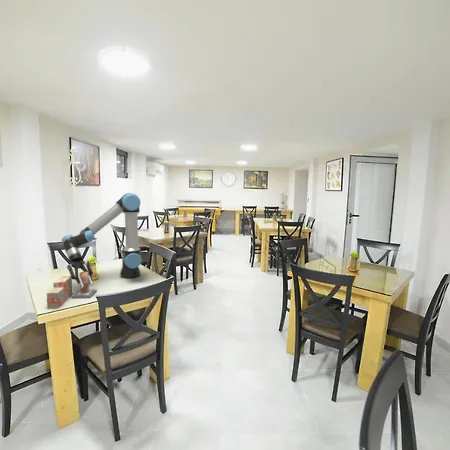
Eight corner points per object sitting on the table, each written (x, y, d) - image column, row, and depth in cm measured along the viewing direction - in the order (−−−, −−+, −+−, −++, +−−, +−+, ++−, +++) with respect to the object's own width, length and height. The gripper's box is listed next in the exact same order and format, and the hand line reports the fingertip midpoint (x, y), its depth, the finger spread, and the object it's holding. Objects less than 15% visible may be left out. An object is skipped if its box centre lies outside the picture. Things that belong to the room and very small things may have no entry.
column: (90, 289, 178) (89, 271, 176) (87, 292, 173) (86, 273, 171) (82, 289, 177) (81, 271, 176) (78, 292, 172) (78, 274, 171)
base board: (96, 291, 181) (96, 289, 181) (90, 298, 171) (90, 295, 170) (79, 291, 180) (79, 289, 180) (71, 298, 169) (71, 295, 169)
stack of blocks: (59, 308, 156) (58, 287, 154) (47, 308, 155) (45, 287, 153) (72, 294, 177) (71, 275, 175) (62, 294, 175) (61, 276, 174)
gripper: (86, 257, 189) (99, 285, 181) (58, 261, 176) (70, 293, 167) (90, 250, 185) (103, 279, 177) (61, 255, 172) (73, 286, 163)
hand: (87, 286), depth 172 cm, fingers closed on column, 5 cm apart
